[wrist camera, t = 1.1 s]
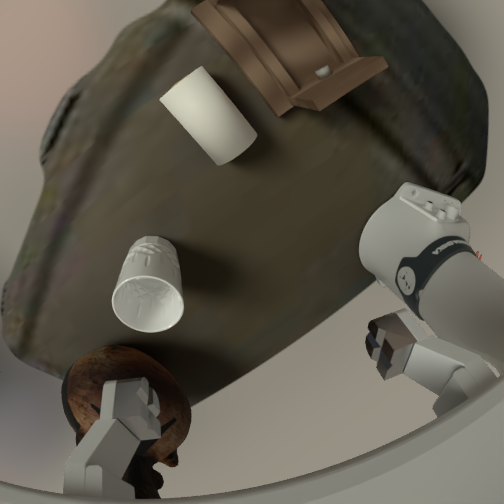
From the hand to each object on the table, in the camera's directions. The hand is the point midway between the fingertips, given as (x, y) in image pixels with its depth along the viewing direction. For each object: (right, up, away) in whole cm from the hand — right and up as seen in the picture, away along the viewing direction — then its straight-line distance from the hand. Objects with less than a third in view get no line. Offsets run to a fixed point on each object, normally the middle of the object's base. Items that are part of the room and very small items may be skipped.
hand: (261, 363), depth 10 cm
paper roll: (-5, +19, +22) cm, 29 cm away
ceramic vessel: (-22, -15, +38) cm, 46 cm away
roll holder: (+3, +29, +18) cm, 34 cm away
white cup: (-13, +3, +29) cm, 33 cm away
